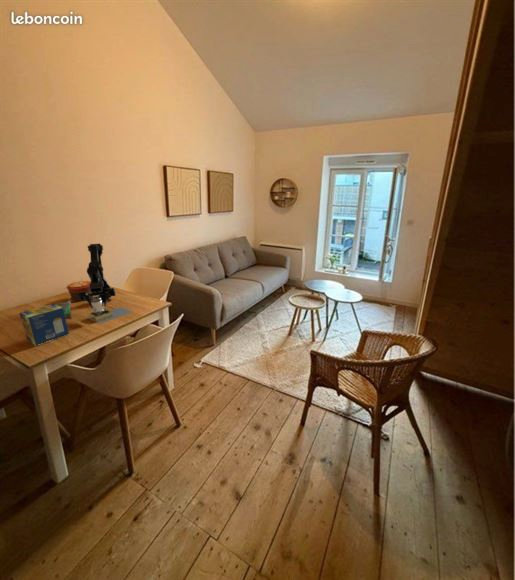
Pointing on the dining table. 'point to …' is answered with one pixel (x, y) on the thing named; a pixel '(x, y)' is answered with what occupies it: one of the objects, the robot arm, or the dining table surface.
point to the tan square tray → (102, 317)
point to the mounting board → (116, 314)
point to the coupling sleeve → (97, 306)
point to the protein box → (44, 323)
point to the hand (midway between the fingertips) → (98, 306)
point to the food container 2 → (78, 289)
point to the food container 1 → (65, 308)
